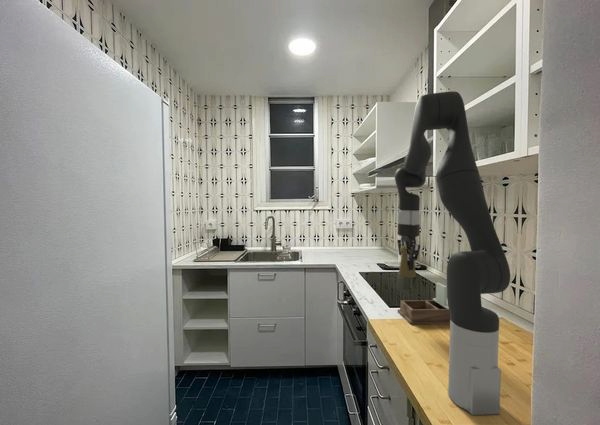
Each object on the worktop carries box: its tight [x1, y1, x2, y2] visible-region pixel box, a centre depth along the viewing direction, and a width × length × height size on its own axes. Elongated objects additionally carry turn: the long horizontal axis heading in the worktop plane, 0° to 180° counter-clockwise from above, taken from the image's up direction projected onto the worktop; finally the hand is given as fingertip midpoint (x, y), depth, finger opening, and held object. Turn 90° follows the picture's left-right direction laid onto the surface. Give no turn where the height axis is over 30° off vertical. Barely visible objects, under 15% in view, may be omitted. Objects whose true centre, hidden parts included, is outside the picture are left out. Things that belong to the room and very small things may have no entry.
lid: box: [432, 282, 449, 309], centre depth 111 cm, size 11×10×8 cm
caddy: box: [397, 299, 450, 326], centre depth 111 cm, size 12×24×5 cm, turn 93°
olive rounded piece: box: [398, 246, 417, 279], centre depth 105 cm, size 6×6×11 cm
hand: (407, 269), depth 105 cm, fingers closed on olive rounded piece, 3 cm apart
